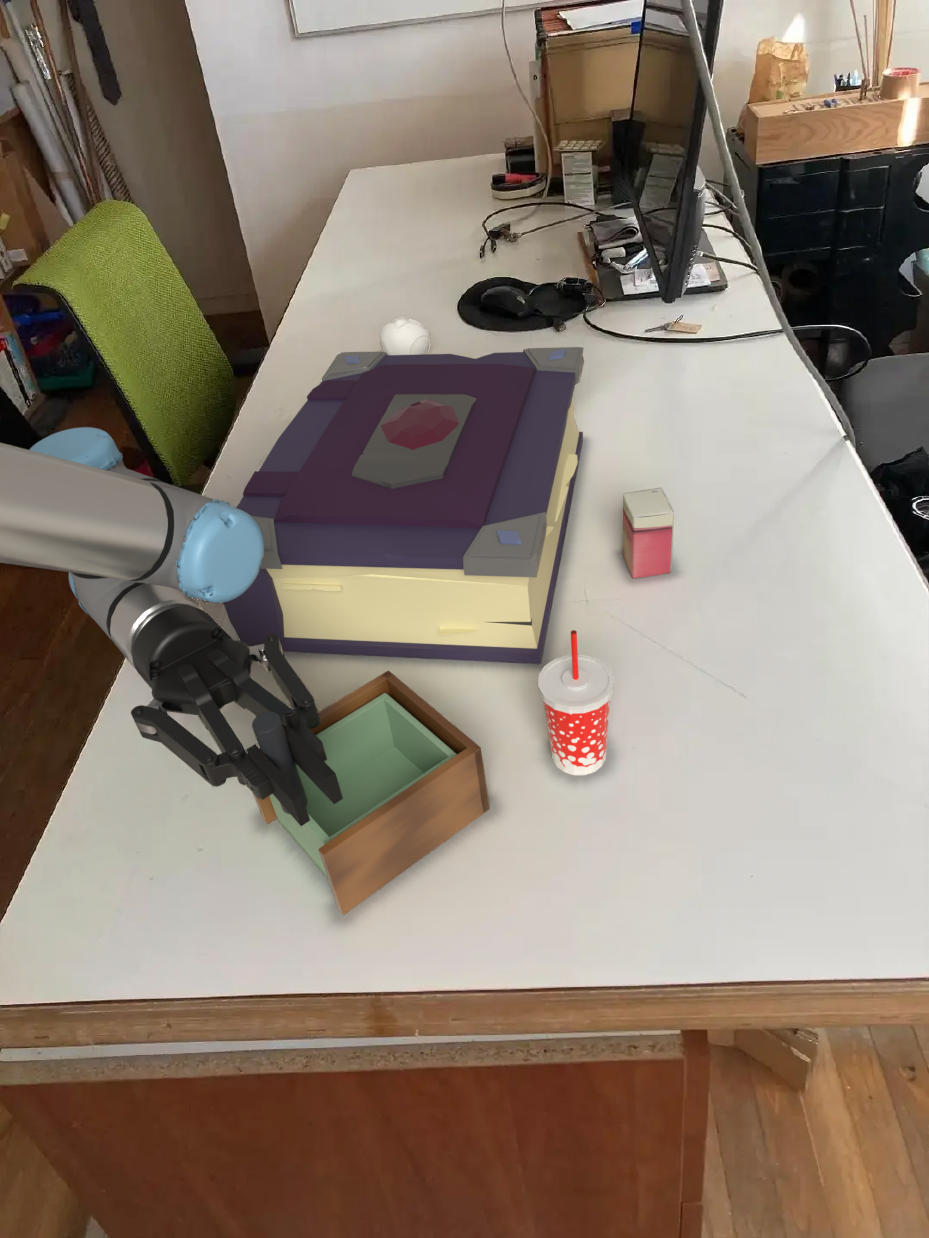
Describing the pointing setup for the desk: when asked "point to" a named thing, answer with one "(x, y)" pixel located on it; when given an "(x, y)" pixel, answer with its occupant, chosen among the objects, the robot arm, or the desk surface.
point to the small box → (647, 532)
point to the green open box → (353, 767)
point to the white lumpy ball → (405, 337)
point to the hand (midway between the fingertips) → (317, 799)
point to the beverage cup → (577, 709)
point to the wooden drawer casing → (400, 803)
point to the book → (417, 508)
